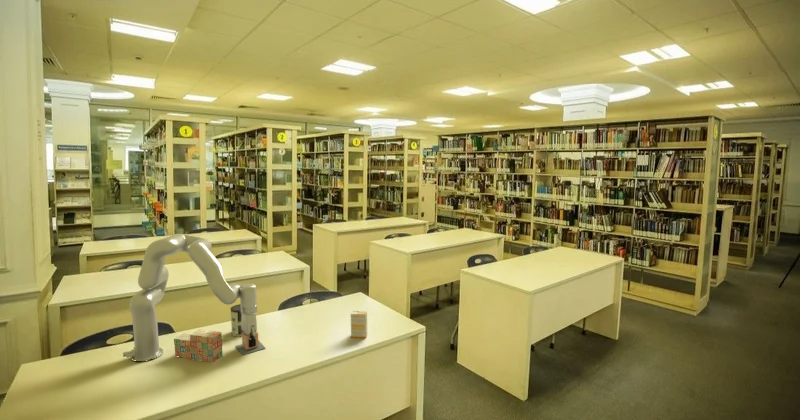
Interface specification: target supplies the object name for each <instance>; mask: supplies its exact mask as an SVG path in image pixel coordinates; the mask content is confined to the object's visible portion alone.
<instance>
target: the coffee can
mask: <svg viewBox="0 0 800 420" xmlns="http://www.w3.org/2000/svg"><path fill="white" fill-rule="evenodd" d="M241 316H242V314H241V304H235V305H232V306H231V307H230V321H231V323H230V324H231V325H230V326H231V335H232V336H235V337H242V332H243V330H242V328H241Z"/></svg>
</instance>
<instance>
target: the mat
mask: <svg viewBox="0 0 800 420" xmlns="http://www.w3.org/2000/svg"><path fill="white" fill-rule="evenodd" d="M258 345H259V346H258V347H255V348H251V349H248V350H246V349H245V348H244V347H243V346H242V343H241V344H238V345H235V348H236V349H237V350H238V352H239V353H240V354H241V356H245V355H248V354H252V353H255V352H258V351H262V350H266V347H265V346H264V344H263V343H262V342H261V341H260V340H259V339H258Z"/></svg>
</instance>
